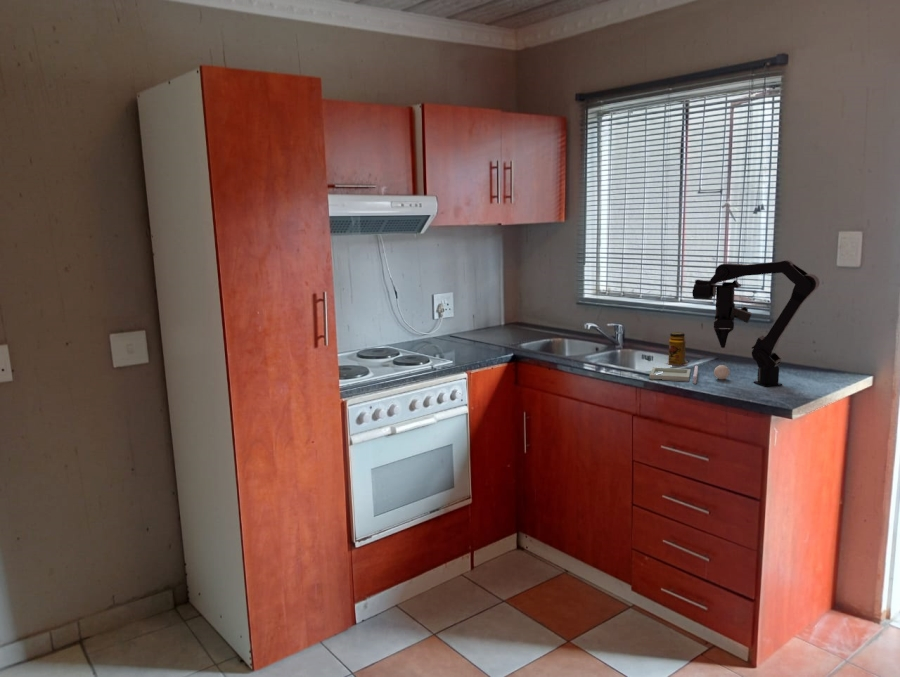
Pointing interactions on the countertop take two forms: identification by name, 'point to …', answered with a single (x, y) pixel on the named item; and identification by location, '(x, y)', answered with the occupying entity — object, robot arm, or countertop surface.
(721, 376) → the ball
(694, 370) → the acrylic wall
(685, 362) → the condiment
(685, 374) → the tray
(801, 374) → the countertop surface
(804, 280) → the robot arm
